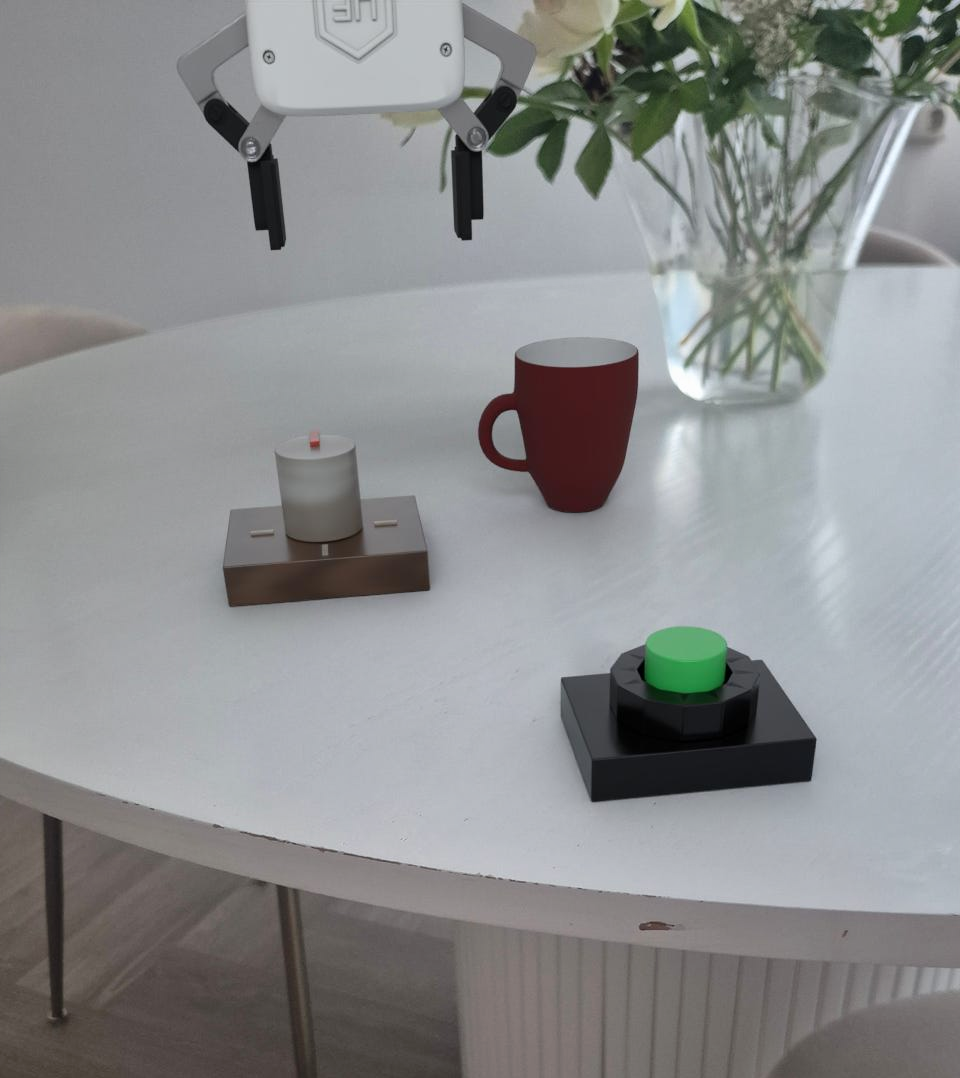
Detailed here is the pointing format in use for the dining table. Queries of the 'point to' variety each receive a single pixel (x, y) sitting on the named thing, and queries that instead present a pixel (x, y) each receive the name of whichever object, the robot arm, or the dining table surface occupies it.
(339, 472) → the dimmer knob
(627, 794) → the switch block
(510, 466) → the mug
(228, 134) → the robot arm
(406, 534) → the dimmer panel
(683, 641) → the light button
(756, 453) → the dining table surface
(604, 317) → the dining table surface
